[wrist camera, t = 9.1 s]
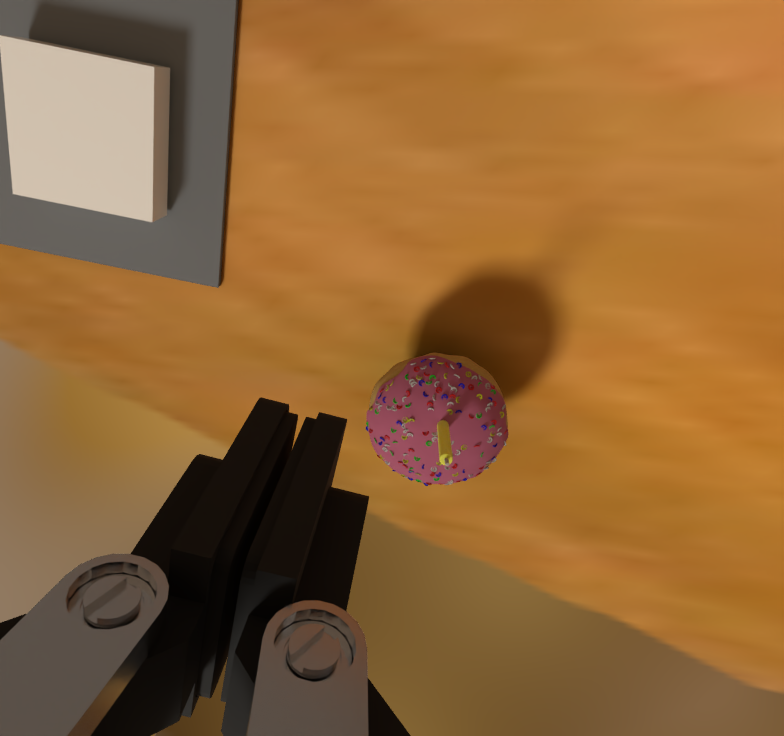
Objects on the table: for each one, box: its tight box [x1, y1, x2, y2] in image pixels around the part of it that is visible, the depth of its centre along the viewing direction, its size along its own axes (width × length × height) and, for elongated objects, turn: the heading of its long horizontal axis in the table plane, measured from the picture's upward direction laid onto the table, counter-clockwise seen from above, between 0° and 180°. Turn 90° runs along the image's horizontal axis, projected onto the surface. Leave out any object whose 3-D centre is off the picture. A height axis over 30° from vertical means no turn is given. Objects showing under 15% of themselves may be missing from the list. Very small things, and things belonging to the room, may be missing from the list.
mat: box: [0, 0, 239, 288], centre depth 35 cm, size 16×14×1 cm
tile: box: [0, 35, 170, 222], centre depth 34 cm, size 8×2×8 cm
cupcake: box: [366, 353, 508, 486], centre depth 35 cm, size 9×8×12 cm
